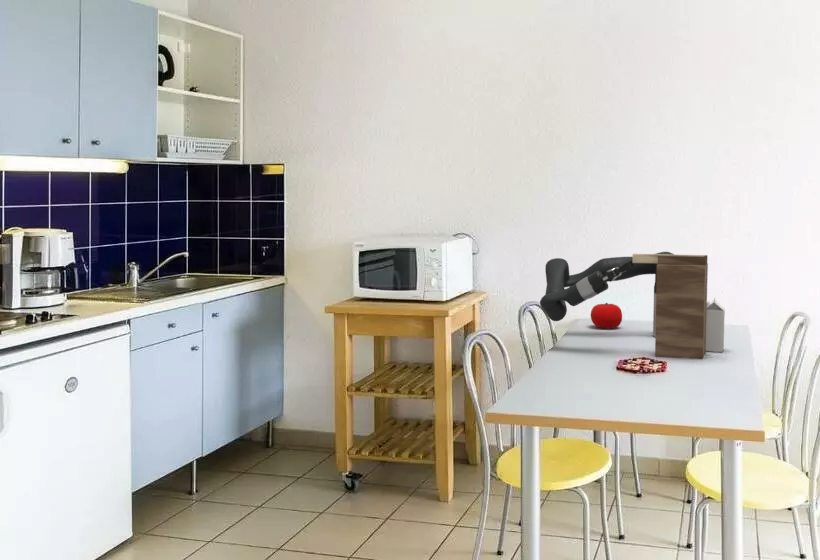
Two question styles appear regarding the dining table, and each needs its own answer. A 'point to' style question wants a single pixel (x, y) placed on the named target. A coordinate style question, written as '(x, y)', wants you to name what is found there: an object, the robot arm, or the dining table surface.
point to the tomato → (606, 315)
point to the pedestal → (681, 306)
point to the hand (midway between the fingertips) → (631, 263)
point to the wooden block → (652, 257)
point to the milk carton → (715, 327)
